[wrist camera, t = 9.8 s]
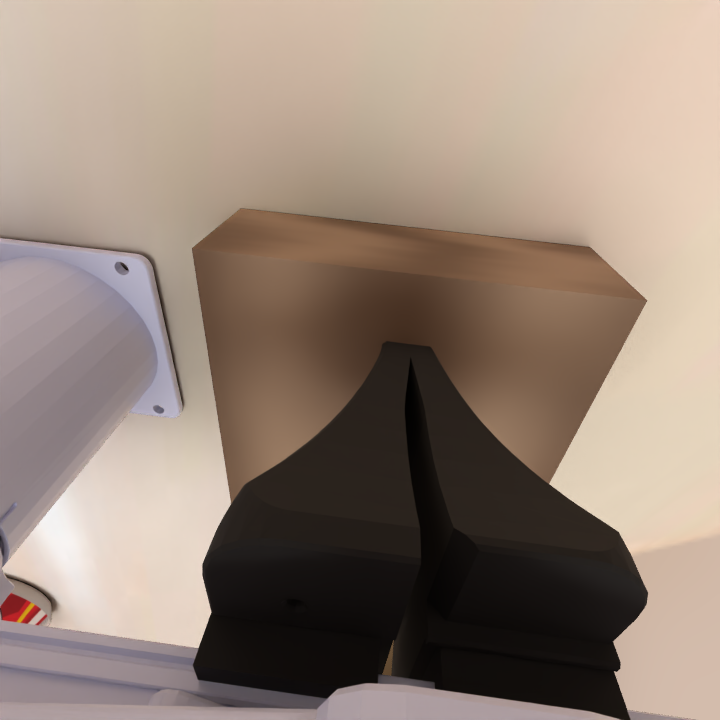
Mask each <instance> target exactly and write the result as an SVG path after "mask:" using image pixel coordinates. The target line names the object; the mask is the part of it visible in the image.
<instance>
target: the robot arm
mask: <svg viewBox="0 0 720 720" xmlns="http://www.w3.org/2000/svg"><path fill="white" fill-rule="evenodd" d="M121 262H122V263H124V264H125V265H127V267H128V269H129V271H127V270H125V269H124V268H123V267H122V265H121ZM160 406H161V407H160ZM182 410H183V406H182V401H181V396H180V392H179V387H178V383H177V378H176V373H175V369H174V364H173V359H172V355H171V350H170V346H169V341H168V336H167V332H166V327H165V322H164V318H163V313H162V309H161V304H160V299H159V295H158V290H157V285H156V281H155V276H154V272H153V267H152V265H151V263H150V262H149V260H148V259H147V258H145V257H144V256H142V255H139V254H135V253H126V252H117V251H109V250H100V249H91V248H82V247H74V246H65V245H56V244H48V243H39V242H30V241H22V240H13V239H4V238H0V606H1V605H2V604H3V602H4V601H5V600H6V598H7V597H8V596H9V594H10V593H11V592H12V590H13V589H14V584H13V583H12V582H11V581H9V580H8V579H7V577H6V576H5V574H4V573H3V570H2V567H3V566H4V565H5V563H6V562H7V561H8V560H9V559H10V558H11V556H12V555H13V554H14V553H15V551H16V550H17V549H18V548H19V546H20V545H21V544H22V543H23V542H24V540H25V539H26V538H27V537H28V535H29V534H30V533H31V532H32V531H33V529H34V528H35V527H36V526H37V524H38V523H39V522H40V521H41V520H42V518H43V517H44V516H45V515H46V513H47V512H48V511H49V510H50V509H51V507H52V506H53V505H54V504H55V502H56V501H57V500H58V499H59V497H60V496H61V495H62V494H63V493H64V491H65V490H66V489H67V488H68V486H69V485H70V484H71V483H72V482H73V480H74V479H75V478H76V477H77V475H78V474H79V473H80V472H81V471H82V469H83V468H84V467H85V466H86V464H87V463H88V462H89V461H90V459H91V458H92V457H93V456H94V455H95V453H96V452H97V451H98V450H99V448H100V447H101V446H102V445H103V444H104V442H105V441H106V440H107V439H108V437H109V436H110V435H111V434H112V433H113V431H114V430H115V429H116V428H117V426H118V425H119V424H120V423H121V421H122V420H123V419H124V418H125V417H126V415H127V414H128V413H136V414H144V415H152V416H160V417H168V418H176V417H178V416H179V415H180V413H181V412H182ZM203 579H204V583H205V587H206V592H207V596H208V600H209V604H210V608H211V612H212V613H211V615H210V618H209V621H208V624H207V627H206V629H205V632H204V635H203V638H202V640H201V643H200V646H199V648H192V647H185V646H178V645H171V644H164V643H157V642H150V641H143V640H136V639H129V638H122V637H116V636H109V635H102V634H95V633H88V632H81V631H74V630H67V629H60V628H53V627H46V626H39V625H32V624H25V623H18V622H11V621H4V620H0V720H694V719H687V718H680V717H673V716H666V715H660V714H653V713H646V712H638V711H631V710H627V708H626V705H625V702H624V699H623V697H622V693H621V691H620V688H619V685H618V682H617V679H616V676H615V673H614V671H616V672H617V671H618V670H619V669H620V660H619V657H618V654H617V652H616V649H615V646H614V643H613V641H614V640H615V639H616V638H617V637H618V636H619V635H620V634H621V633H622V632H623V631H624V630H625V629H626V628H627V627H628V626H629V625H630V624H631V623H632V622H634V621H635V620H636V619H637V617H638V616H639V615H640V613H641V612H642V611H643V609H644V608H645V606H646V604H647V597H648V592H647V590H646V588H645V586H644V584H643V581H642V579H641V577H640V574H639V572H638V570H637V567H636V565H635V563H634V561H633V558H632V556H631V554H630V552H629V550H628V548H627V547H626V545H625V543H624V541H623V539H622V538H621V536H620V534H619V532H618V531H616V530H615V529H613V528H612V527H610V526H609V525H607V524H606V523H604V522H603V521H601V520H600V519H598V518H596V517H595V516H593V515H592V514H590V513H589V512H587V511H586V510H584V509H583V508H581V507H580V506H578V505H577V504H575V503H574V502H572V501H571V500H569V499H568V498H567V497H565V496H564V495H563V494H561V493H560V492H559V491H557V490H556V489H555V488H553V487H552V486H551V485H549V484H548V483H547V482H545V481H544V480H543V479H542V478H541V477H539V476H538V475H537V474H536V473H534V472H533V471H532V470H531V469H529V468H528V467H527V466H526V465H525V464H524V463H523V462H522V461H520V460H519V459H518V458H517V457H516V456H515V455H514V454H513V453H511V452H510V451H509V450H508V449H507V448H506V447H505V446H504V445H503V444H502V443H501V442H500V441H499V440H498V439H497V438H496V437H495V436H494V435H493V434H492V432H491V431H490V430H489V429H488V428H487V427H486V426H485V425H484V424H483V423H482V422H481V420H480V419H479V418H478V417H477V416H476V414H475V413H474V412H473V411H472V409H471V408H470V407H469V405H468V404H467V403H466V401H465V400H464V399H463V397H462V396H461V394H460V393H459V391H458V390H457V389H456V387H455V386H454V384H453V383H452V381H451V380H450V378H449V376H448V375H447V373H446V371H445V370H444V368H443V367H442V365H441V363H440V361H439V360H438V358H437V356H436V354H435V352H434V351H433V349H432V348H431V347H430V346H422V345H414V344H406V343H398V342H390V341H386V342H385V343H383V344H382V348H381V351H380V354H379V356H378V359H377V361H376V363H375V364H374V366H373V368H372V370H371V371H370V373H369V375H368V376H367V378H366V379H365V381H364V382H363V384H362V385H361V387H360V388H359V389H358V391H357V392H356V393H355V395H354V396H353V397H352V398H351V400H350V401H349V402H348V403H347V404H346V406H345V407H344V408H343V409H342V410H341V411H340V412H339V413H338V414H337V415H336V417H335V418H334V419H333V420H332V421H331V422H330V423H328V424H327V425H326V426H325V427H324V428H323V429H322V430H321V431H320V432H319V433H318V434H317V435H315V436H314V437H313V438H312V439H311V440H310V441H308V442H307V443H306V444H304V445H303V446H302V447H300V448H299V449H298V450H296V451H295V452H294V453H292V454H291V455H290V456H288V457H287V458H286V459H284V460H283V461H281V462H280V463H278V464H277V465H275V466H274V467H272V468H270V469H269V470H267V471H265V472H264V473H262V474H261V475H259V476H257V477H256V478H254V479H252V480H251V481H249V482H247V483H245V485H244V486H243V487H242V489H241V490H240V492H239V493H238V495H237V496H236V498H235V499H234V501H233V502H232V504H231V505H230V507H229V509H228V510H227V512H226V514H225V515H224V517H223V519H222V521H221V523H220V524H219V526H218V528H217V530H216V533H215V535H214V537H213V540H212V542H211V545H210V547H209V550H208V552H207V555H206V557H205V559H204V562H203ZM393 640H394V645H393V646H394V647H393V660H392V676H388V675H382V673H383V670H384V667H385V664H386V661H387V658H388V654H389V651H390V648H391V645H392V642H393Z"/></svg>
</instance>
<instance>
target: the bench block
mask: <svg viewBox="0 0 720 720" xmlns="http://www.w3.org/2000/svg"><path fill="white" fill-rule="evenodd" d="M192 252H193V258H194V265H195V271H196V278H197V284H198V291H199V297H200V304H201V310H202V317H203V323H204V330H205V336H206V343H207V349H208V356H209V362H210V369H211V375H212V381H213V388H214V394H215V401H216V407H217V414H218V420H219V427H220V433H221V440H222V446H223V453H224V459H225V466H226V472H227V479H228V485H229V492H230V498H231V504H232V502H233V501H234V499H235V498H236V496H237V495H238V493H239V492H240V490H241V489H242V487H243V486H244V485H245V483H247V482H249V481H251V480H252V479H254V478H256V477H257V476H259V475H261V474H262V473H264V472H265V471H267V470H269V469H270V468H272V467H274V466H275V465H277V464H278V463H280V462H281V461H283V460H284V459H286V458H287V457H288V456H290V455H291V454H292V453H294V452H295V451H296V450H298V449H299V448H300V447H302V446H303V445H304V444H306V443H307V442H308V441H310V440H311V439H312V438H313V437H314V436H315V435H317V434H318V433H319V432H320V431H321V430H322V429H323V428H324V427H325V426H326V425H327V424H328V423H330V422H331V421H332V420H333V419H334V418H335V417H336V415H337V414H338V413H339V412H340V411H341V410H342V409H343V408H344V407H345V406H346V404H347V403H348V402H349V401H350V400H351V398H352V397H353V396H354V395H355V393H356V392H357V391H358V389H359V388H360V387H361V385H362V384H363V382H364V381H365V379H366V378H367V376H368V375H369V373H370V371H371V370H372V368H373V366H374V364H375V363H376V361H377V359H378V356H379V354H380V351H381V348H382V344H383V343H385V342H386V341H390V342H398V343H406V344H414V345H422V346H430V347H431V348H432V349H433V351H434V352H435V354H436V356H437V358H438V360H439V361H440V363H441V365H442V367H443V368H444V370H445V371H446V373H447V375H448V376H449V378H450V380H451V381H452V383H453V384H454V386H455V387H456V389H457V390H458V391H459V393H460V394H461V396H462V397H463V399H464V400H465V401H466V403H467V404H468V405H469V407H470V408H471V409H472V411H473V412H474V413H475V414H476V416H477V417H478V418H479V419H480V420H481V422H482V423H483V424H484V425H485V426H486V427H487V428H488V429H489V430H490V431H491V432H492V434H493V435H494V436H495V437H496V438H497V439H498V440H499V441H500V442H501V443H502V444H503V445H504V446H505V447H506V448H507V449H508V450H509V451H510V452H511V453H513V454H514V455H515V456H516V457H517V458H518V459H519V460H520V461H522V462H523V463H524V464H525V465H526V466H527V467H528V468H529V469H531V470H532V471H533V472H534V473H536V474H537V475H538V476H539V477H541V478H542V479H543V480H544V481H545V482H547V483H548V484H549V483H550V481H551V479H552V477H553V475H554V473H555V472H556V470H557V468H558V466H559V464H560V462H561V460H562V458H563V457H564V455H565V453H566V451H567V449H568V447H569V445H570V444H571V442H572V440H573V438H574V436H575V434H576V432H577V431H578V429H579V427H580V425H581V423H582V421H583V419H584V417H585V416H586V414H587V412H588V410H589V408H590V406H591V404H592V403H593V401H594V399H595V397H596V395H597V393H598V391H599V389H600V388H601V386H602V384H603V382H604V380H605V378H606V376H607V375H608V373H609V371H610V369H611V367H612V365H613V363H614V361H615V360H616V358H617V356H618V354H619V352H620V350H621V348H622V347H623V345H624V343H625V341H626V339H627V337H628V335H629V333H630V332H631V330H632V328H633V326H634V324H635V322H636V320H637V319H638V317H639V315H640V313H641V311H642V309H643V307H644V305H645V304H646V302H647V300H646V299H645V298H644V297H643V296H642V295H641V294H640V293H639V292H638V291H636V290H635V289H634V288H633V287H632V286H631V285H630V284H629V283H628V282H627V281H626V280H625V279H624V278H623V277H621V276H620V275H619V274H618V273H617V272H616V271H615V270H614V269H613V268H612V267H611V266H610V265H609V264H608V263H607V262H605V261H604V260H603V259H602V258H601V257H600V256H599V255H598V254H597V253H596V252H595V251H594V250H593V249H592V248H590V247H582V246H573V245H564V244H555V243H546V242H537V241H528V240H519V239H510V238H501V237H492V236H483V235H474V234H465V233H456V232H447V231H438V230H429V229H420V228H411V227H402V226H393V225H385V224H376V223H367V222H358V221H349V220H340V219H331V218H322V217H313V216H304V215H295V214H286V213H277V212H268V211H259V210H250V209H240V210H238V211H237V212H236V213H235V214H233V215H232V216H231V217H230V218H229V219H227V220H226V221H225V222H224V223H222V224H221V225H220V226H219V227H218V228H216V229H215V230H214V231H213V232H211V233H210V234H209V235H208V236H207V237H205V238H204V239H203V240H202V241H200V242H199V243H198V244H197V245H196V246H194V247H193V248H192Z"/></svg>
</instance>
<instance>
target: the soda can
mask: <svg viewBox="0 0 720 720" xmlns="http://www.w3.org/2000/svg"><path fill="white" fill-rule="evenodd" d="M7 579H8V580H9V581H11V582H12V583H13V584H14V589H13V590H12V592H11V593H10V594H9V596H8V597H7V598H6V600H5V601H4V602H3V604H2V605H1V606H0V620H4V621H11V622H18V623H25V624H32V625H39V626H46V627H48V626H49V624H50V622H51V620H52V607H51V603H50V601H49V600H48V599H47V597H46V596H45V595H44V594H42V593H41V592H40V591H38V590H37V589H35V588H33V587H31V586H29V585H27V584H25V583H22V582H20V581H17V580H14V579H10V578H7Z"/></svg>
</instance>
